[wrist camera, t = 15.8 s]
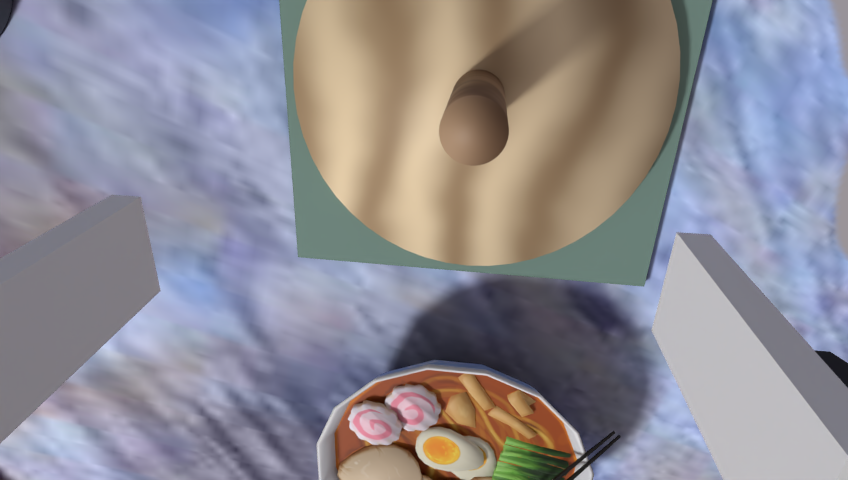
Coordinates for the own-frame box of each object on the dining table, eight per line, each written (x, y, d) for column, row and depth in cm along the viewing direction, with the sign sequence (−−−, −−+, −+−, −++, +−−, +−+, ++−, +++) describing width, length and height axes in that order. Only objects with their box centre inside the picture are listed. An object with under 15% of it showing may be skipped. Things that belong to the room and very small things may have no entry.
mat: (300, 253, 46) (298, 257, 45) (271, -149, 34) (268, -151, 33) (642, 282, 43) (644, 286, 42) (742, -141, 31) (746, -143, 31)
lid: (310, 248, 45) (258, 322, 35) (282, -129, 34) (194, -178, 24) (635, 271, 42) (678, 359, 32) (720, -127, 31) (826, -180, 21)
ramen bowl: (434, 255, 44) (422, 309, 37) (643, 399, 48) (671, 474, 40) (290, 430, 54) (258, 499, 47) (472, 537, 58) (469, 617, 51)
